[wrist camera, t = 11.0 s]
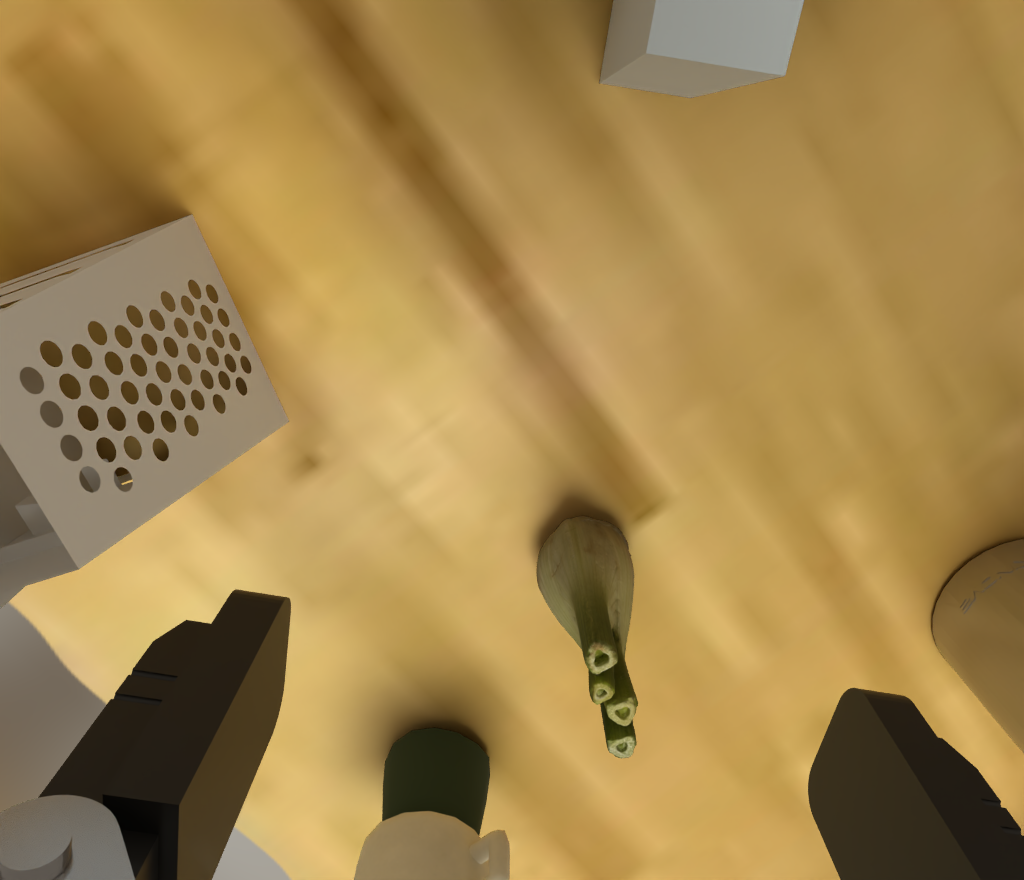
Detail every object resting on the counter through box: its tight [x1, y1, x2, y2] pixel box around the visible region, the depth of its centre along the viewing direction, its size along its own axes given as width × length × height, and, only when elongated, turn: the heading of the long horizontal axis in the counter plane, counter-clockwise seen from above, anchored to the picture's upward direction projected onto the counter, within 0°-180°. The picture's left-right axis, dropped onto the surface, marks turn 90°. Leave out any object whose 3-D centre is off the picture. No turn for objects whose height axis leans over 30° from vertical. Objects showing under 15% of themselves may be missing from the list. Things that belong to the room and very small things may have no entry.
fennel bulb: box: [537, 516, 638, 758], centre depth 35 cm, size 6×5×12 cm
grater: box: [0, 215, 289, 609], centre depth 27 cm, size 10×10×20 cm
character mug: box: [354, 728, 510, 880], centre depth 40 cm, size 11×7×13 cm, turn 130°
